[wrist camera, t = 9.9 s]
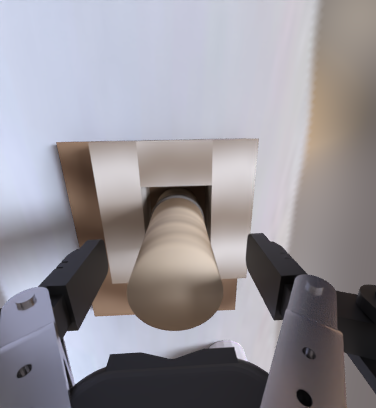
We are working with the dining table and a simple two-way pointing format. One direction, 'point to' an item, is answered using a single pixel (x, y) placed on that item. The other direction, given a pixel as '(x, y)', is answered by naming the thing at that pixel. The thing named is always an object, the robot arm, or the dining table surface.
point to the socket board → (148, 196)
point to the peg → (175, 267)
